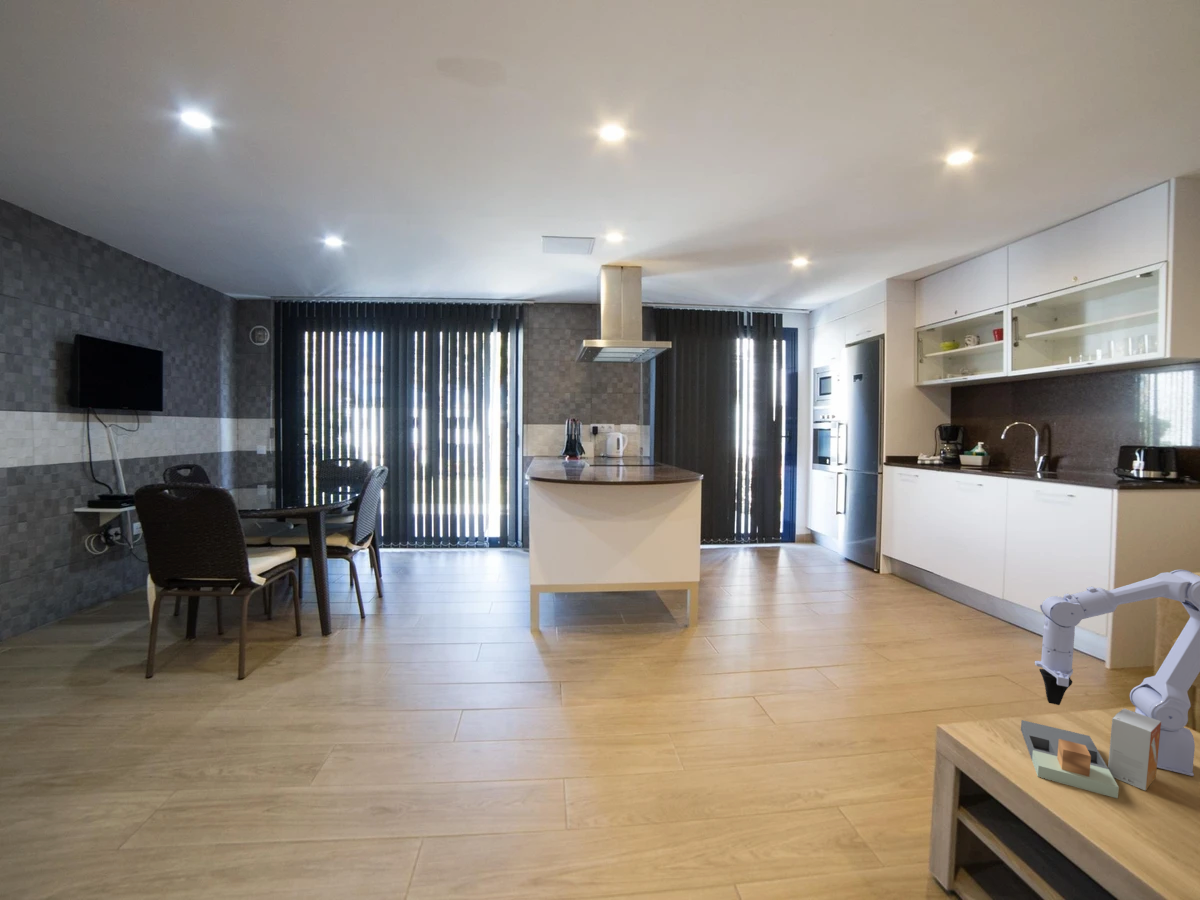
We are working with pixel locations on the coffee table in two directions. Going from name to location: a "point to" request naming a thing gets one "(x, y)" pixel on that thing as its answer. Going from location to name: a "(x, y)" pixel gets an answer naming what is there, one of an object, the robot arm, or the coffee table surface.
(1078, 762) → the orange block
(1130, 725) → the small box
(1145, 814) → the coffee table surface
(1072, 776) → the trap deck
